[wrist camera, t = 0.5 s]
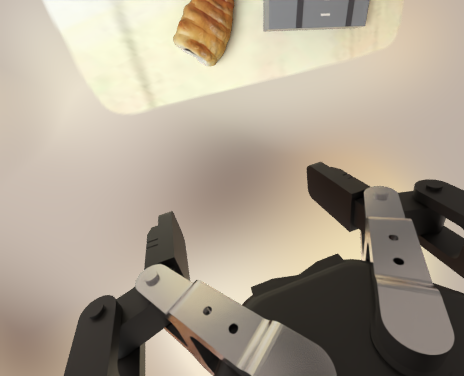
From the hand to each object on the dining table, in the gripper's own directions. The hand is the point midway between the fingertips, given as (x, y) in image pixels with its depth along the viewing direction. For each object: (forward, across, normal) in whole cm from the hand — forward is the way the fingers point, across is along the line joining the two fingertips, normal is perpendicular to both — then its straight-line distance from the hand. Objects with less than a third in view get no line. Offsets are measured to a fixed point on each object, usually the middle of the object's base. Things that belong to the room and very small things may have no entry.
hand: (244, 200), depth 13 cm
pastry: (+28, -5, -10) cm, 30 cm away
